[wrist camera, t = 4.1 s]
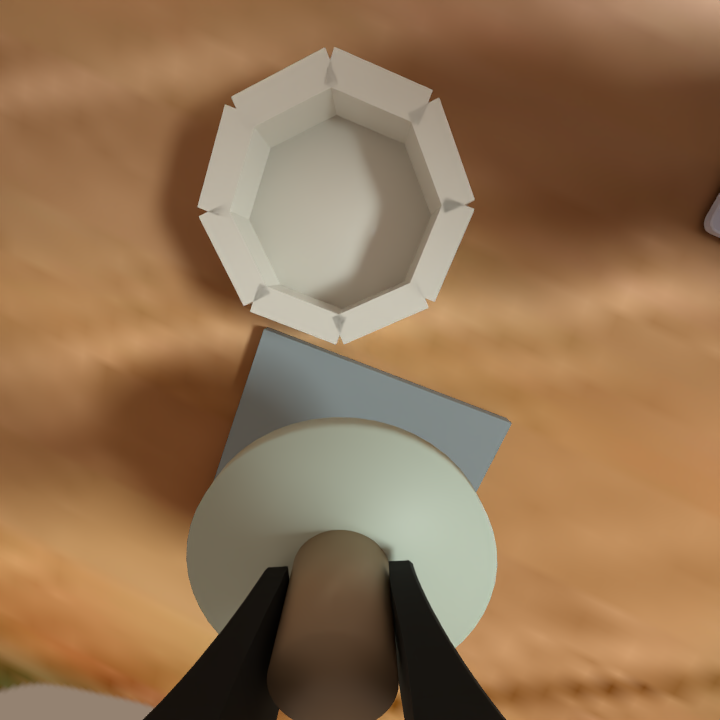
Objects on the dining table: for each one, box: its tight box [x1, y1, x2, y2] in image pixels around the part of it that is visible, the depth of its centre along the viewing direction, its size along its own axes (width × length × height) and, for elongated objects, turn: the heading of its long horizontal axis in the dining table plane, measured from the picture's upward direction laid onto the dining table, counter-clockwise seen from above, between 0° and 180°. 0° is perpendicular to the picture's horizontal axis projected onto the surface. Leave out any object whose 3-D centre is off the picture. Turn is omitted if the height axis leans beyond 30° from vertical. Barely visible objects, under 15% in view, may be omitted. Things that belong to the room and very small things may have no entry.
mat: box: [214, 327, 512, 492], centre depth 18 cm, size 12×10×1 cm
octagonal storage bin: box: [198, 47, 475, 344], centre depth 14 cm, size 9×9×3 cm
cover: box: [186, 417, 497, 720], centre depth 10 cm, size 10×10×4 cm
